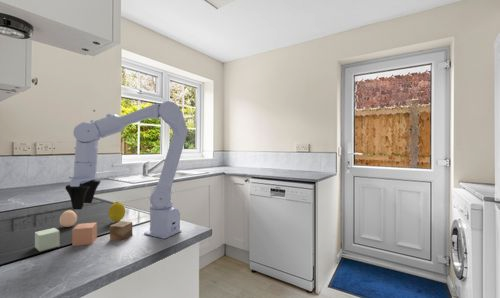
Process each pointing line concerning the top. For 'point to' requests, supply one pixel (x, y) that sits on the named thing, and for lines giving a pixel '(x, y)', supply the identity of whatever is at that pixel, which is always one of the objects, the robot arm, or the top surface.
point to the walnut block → (121, 231)
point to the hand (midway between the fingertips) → (82, 206)
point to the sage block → (47, 239)
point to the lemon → (116, 211)
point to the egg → (68, 218)
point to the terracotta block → (84, 234)
